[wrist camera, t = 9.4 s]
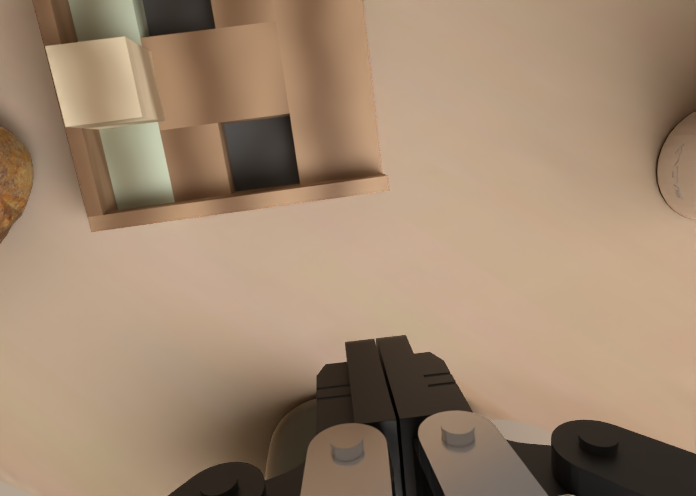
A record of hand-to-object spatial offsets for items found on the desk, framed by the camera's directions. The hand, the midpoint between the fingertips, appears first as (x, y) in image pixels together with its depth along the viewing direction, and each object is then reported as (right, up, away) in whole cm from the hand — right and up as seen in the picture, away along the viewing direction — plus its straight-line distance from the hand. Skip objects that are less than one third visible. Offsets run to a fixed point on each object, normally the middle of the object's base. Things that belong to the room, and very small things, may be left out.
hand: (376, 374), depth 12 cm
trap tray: (-9, +15, +23) cm, 29 cm away
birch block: (-16, +14, +20) cm, 29 cm away
